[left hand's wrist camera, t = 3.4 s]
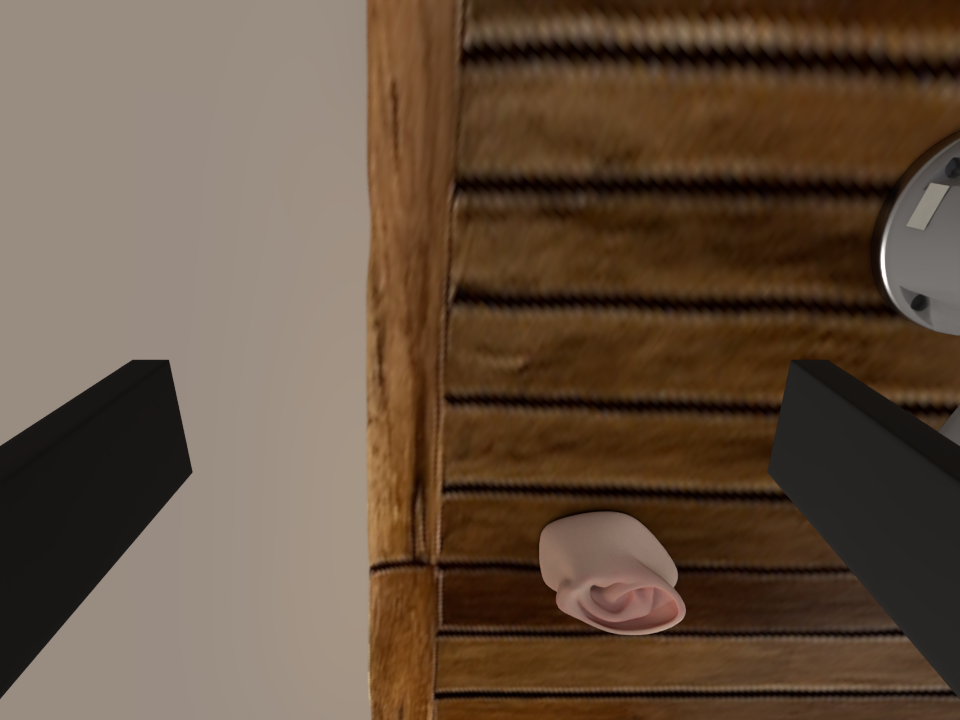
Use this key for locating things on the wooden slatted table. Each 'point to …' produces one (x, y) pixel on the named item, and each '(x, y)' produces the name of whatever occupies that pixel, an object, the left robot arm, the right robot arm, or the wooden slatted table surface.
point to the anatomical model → (610, 573)
